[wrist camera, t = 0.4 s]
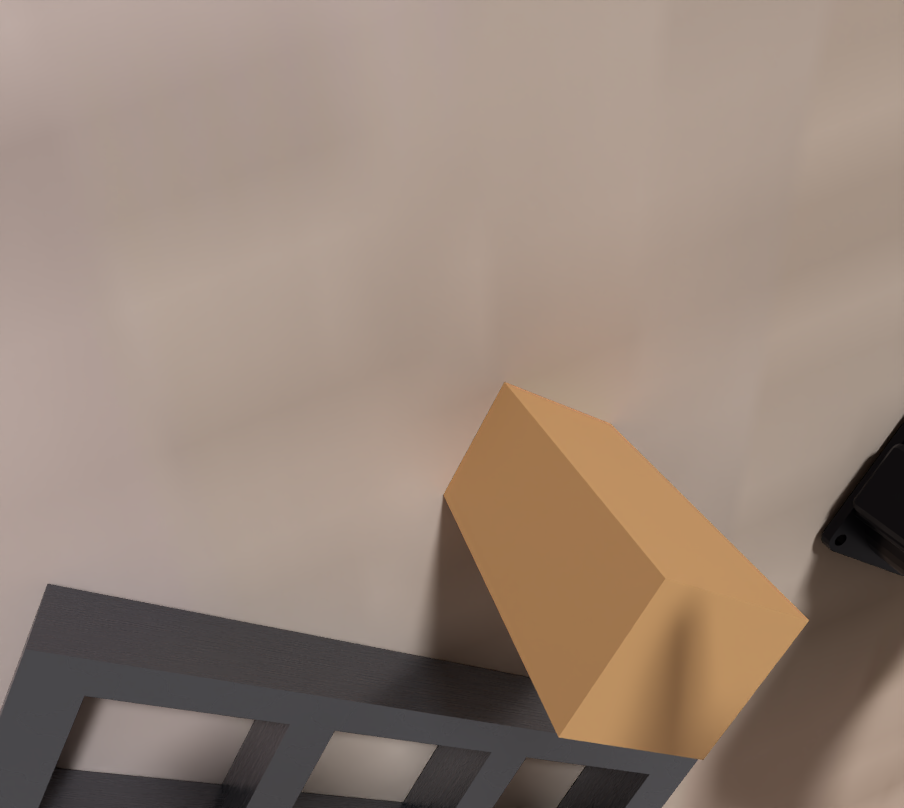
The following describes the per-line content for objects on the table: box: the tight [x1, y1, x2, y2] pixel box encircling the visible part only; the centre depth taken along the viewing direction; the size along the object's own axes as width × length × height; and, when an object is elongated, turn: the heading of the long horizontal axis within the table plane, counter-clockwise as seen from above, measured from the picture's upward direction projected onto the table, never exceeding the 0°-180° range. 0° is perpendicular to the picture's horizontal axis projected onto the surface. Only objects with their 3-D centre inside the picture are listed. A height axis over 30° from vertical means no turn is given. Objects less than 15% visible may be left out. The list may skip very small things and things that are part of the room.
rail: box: [0, 584, 698, 808], centre depth 25 cm, size 23×8×2 cm, turn 63°
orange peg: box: [444, 382, 809, 760], centre depth 19 cm, size 4×4×9 cm
